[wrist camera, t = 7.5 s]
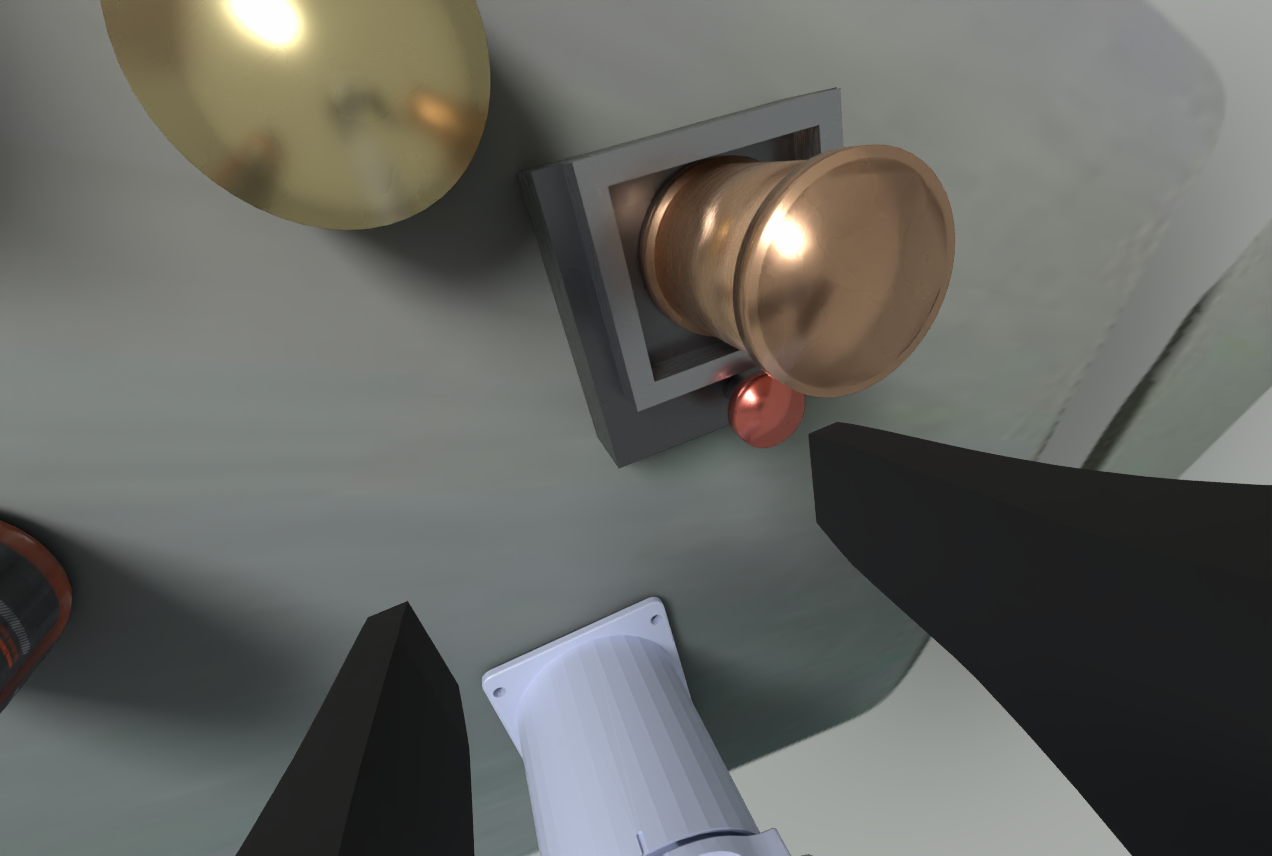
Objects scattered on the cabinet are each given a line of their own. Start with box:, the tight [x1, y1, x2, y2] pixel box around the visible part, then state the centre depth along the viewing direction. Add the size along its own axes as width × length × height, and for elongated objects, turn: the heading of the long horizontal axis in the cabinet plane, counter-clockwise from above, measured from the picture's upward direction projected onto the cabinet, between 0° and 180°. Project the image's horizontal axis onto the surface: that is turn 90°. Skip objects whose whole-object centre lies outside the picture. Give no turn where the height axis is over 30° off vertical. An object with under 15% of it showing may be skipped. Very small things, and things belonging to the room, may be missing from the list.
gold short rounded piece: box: [101, 0, 490, 230], centre depth 12 cm, size 6×6×4 cm
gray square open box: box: [516, 87, 843, 468], centre depth 17 cm, size 9×9×5 cm
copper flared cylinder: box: [640, 145, 955, 398], centre depth 14 cm, size 5×5×6 cm
